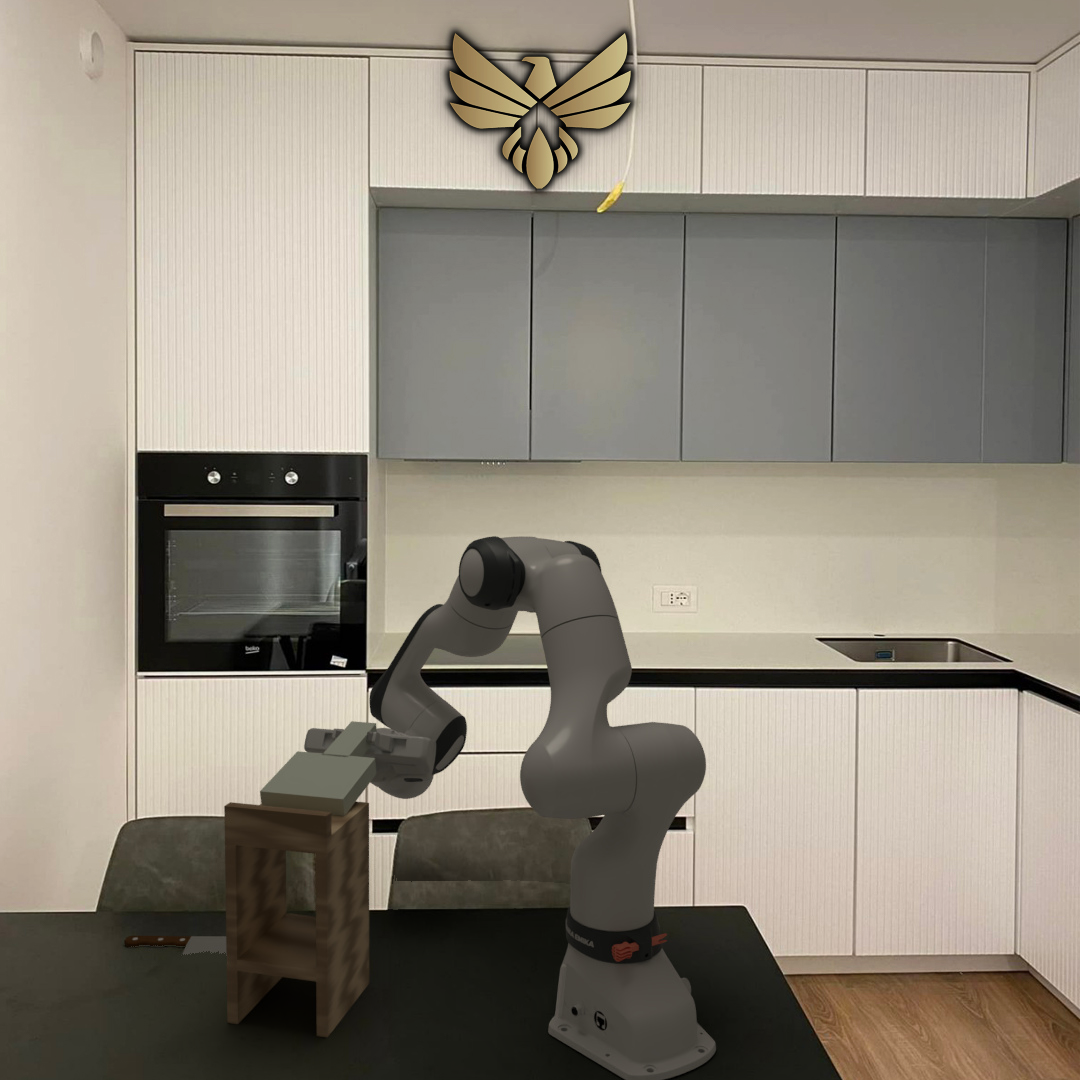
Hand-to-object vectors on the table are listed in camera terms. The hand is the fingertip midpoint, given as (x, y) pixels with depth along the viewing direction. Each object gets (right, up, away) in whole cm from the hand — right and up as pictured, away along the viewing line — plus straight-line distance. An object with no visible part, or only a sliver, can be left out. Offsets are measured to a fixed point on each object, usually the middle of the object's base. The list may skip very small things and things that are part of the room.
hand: (353, 735), depth 159 cm
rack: (-5, -33, -15) cm, 37 cm away
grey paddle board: (-1, -4, -6) cm, 7 cm away
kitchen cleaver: (-22, -32, -1) cm, 39 cm away
